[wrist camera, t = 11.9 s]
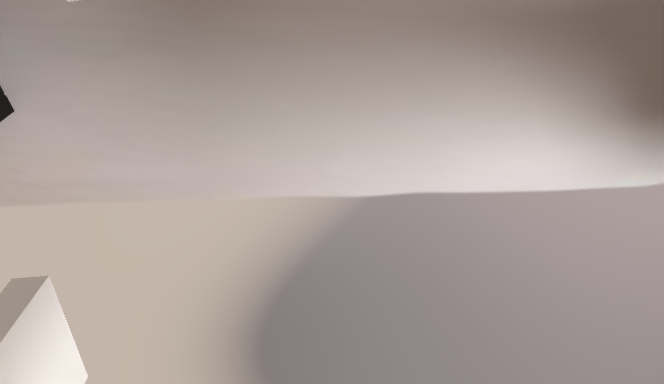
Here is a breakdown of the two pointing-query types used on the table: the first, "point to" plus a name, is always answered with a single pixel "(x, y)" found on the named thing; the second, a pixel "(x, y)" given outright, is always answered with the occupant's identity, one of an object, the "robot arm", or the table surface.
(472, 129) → the table surface
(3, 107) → the tissue box
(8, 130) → the table surface
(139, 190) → the table surface
